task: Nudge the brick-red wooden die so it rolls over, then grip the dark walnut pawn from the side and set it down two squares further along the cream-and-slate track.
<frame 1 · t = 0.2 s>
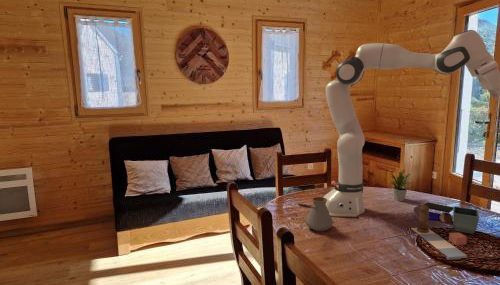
hand: (499, 98, 132), 54 cm above the table, tool tilted 30°, fingers open, 8 cm apart
coffee pot: (312, 231, 141), on the table
flower pot: (464, 232, 137), on the table
pawn: (422, 230, 137), point 1 cm above the table, touching track
die: (457, 244, 126), on the table
house plant: (401, 200, 175), on the table
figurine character: (433, 220, 149), on the table
track: (436, 243, 128), on the table
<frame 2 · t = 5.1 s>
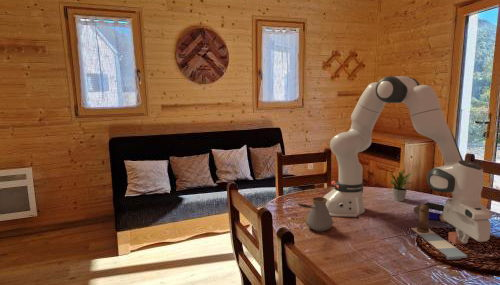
hand: (462, 241, 123), 3 cm above the table, tool pointing down, fingers closed
die: (456, 243, 127), on the table, touching gripper
everything else where it was.
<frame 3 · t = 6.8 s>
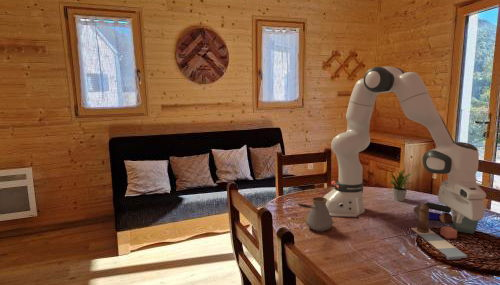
hand: (456, 221, 126), 9 cm above the table, tool pointing down, fingers closed
die: (448, 238, 132), on the table
everything else where it was.
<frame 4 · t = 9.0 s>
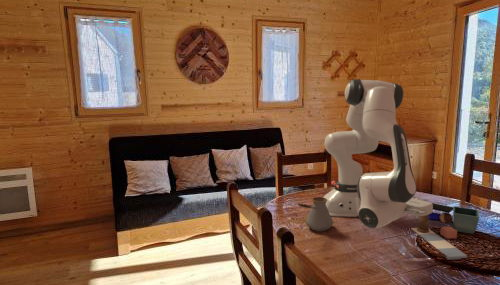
hand: (411, 197, 126), 18 cm above the table, tool horizontal, fingers open, 3 cm apart
nothing on the table moved.
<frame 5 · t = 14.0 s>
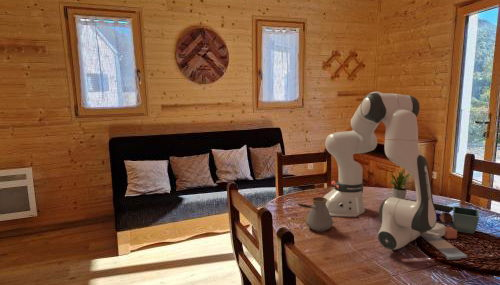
hand: (424, 218, 136), 6 cm above the table, tool horizontal, fingers closed on pawn, 4 cm apart
pawn: (422, 230, 137), point 1 cm above the table, touching gripper, track
everything else where it was.
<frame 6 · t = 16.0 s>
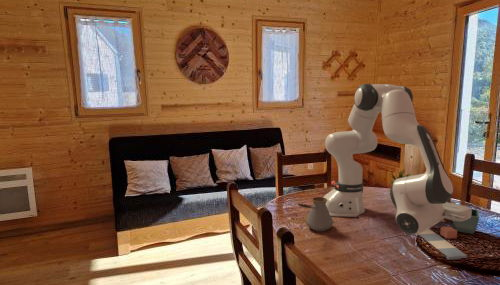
hand: (445, 202, 123), 17 cm above the table, tool horizontal, fingers closed on pawn, 4 cm apart
pawn: (443, 215, 123), point 12 cm above the table, touching gripper
everything else where it was.
when the fingers open (7 cm above the table, at t = 18.2 s): pawn stays where it is, resting on track.
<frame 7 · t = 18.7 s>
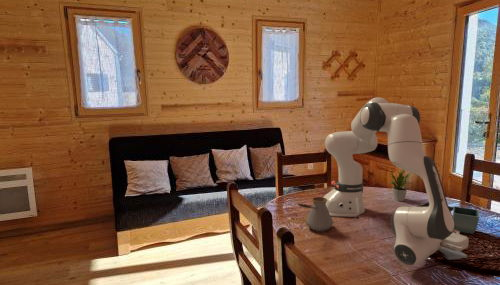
hand: (443, 228, 124), 7 cm above the table, tool horizontal, fingers open, 8 cm apart
pawn: (441, 244, 125), point 1 cm above the table, touching track
everything else where it was.
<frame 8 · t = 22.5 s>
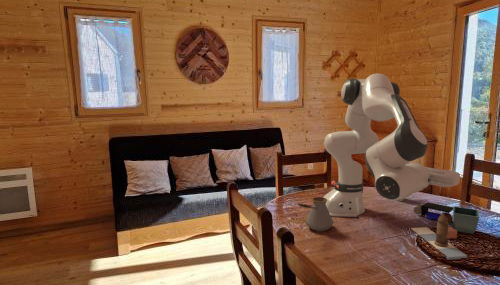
hand: (433, 169, 112), 32 cm above the table, tool horizontal, fingers open, 8 cm apart
nothing on the table moved.
at the end: pawn 0.0 cm from the target spot on the track, point 1.0 cm above the track's base; pawn tilted 0°; die moved 5.5 cm from its start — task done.
